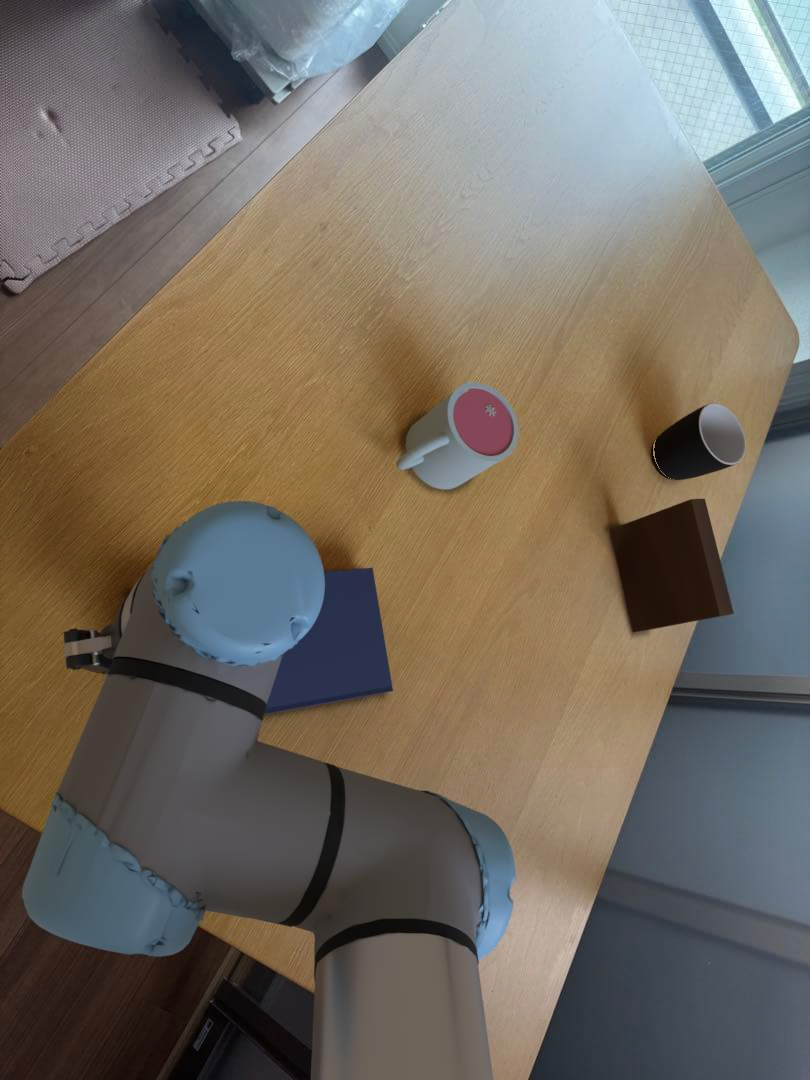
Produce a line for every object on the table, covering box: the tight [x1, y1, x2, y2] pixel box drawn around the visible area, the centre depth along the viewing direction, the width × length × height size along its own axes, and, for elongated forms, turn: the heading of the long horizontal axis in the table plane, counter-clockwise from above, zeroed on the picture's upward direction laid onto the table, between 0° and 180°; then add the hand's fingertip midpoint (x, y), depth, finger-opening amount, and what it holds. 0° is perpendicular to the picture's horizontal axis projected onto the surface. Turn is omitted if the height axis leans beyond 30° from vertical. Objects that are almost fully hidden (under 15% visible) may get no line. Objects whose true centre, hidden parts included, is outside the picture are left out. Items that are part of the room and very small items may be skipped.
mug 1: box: [395, 381, 519, 490], centre depth 83 cm, size 14×9×10 cm
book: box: [264, 567, 394, 716], centre depth 71 cm, size 24×13×3 cm, turn 99°
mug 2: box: [650, 402, 747, 481], centre depth 103 cm, size 12×9×10 cm
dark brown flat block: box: [609, 498, 735, 633], centre depth 91 cm, size 2×14×14 cm, turn 9°
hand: (131, 661), depth 65 cm, fingers closed
